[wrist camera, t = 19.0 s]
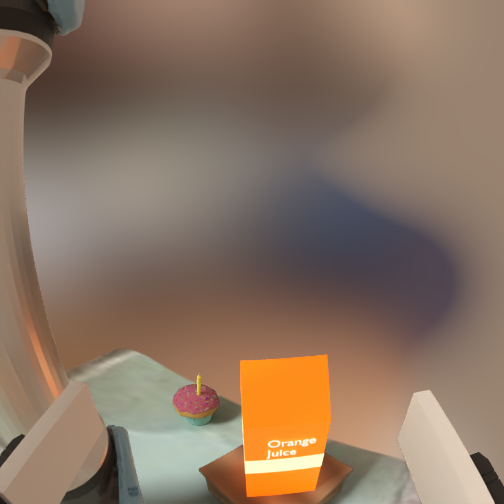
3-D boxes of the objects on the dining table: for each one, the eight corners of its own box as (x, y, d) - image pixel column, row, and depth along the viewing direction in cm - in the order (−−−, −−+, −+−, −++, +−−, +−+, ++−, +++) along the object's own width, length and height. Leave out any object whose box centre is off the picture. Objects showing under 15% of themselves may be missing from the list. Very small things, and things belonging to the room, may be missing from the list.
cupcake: (229, 415, 54) (226, 366, 51) (200, 439, 47) (191, 390, 44) (197, 398, 58) (190, 350, 55) (167, 418, 52) (156, 370, 49)
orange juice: (243, 455, 37) (238, 341, 32) (305, 450, 38) (318, 336, 33) (246, 498, 30) (240, 385, 25) (315, 491, 30) (340, 377, 25)
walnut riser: (273, 550, 25) (275, 536, 23) (203, 489, 36) (198, 469, 34) (345, 489, 34) (353, 468, 33) (275, 445, 45) (276, 423, 44)
